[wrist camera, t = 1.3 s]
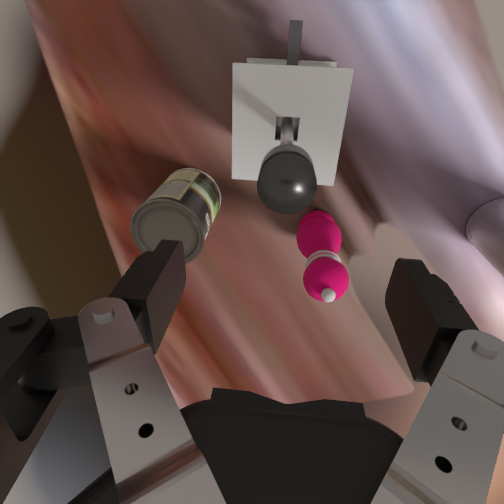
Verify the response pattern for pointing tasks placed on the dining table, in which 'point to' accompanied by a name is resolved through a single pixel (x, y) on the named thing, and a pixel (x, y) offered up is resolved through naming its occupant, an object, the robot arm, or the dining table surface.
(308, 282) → the pepper mill
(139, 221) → the coffee can
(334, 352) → the dining table surface
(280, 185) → the grey thin rod
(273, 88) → the white cabinet
